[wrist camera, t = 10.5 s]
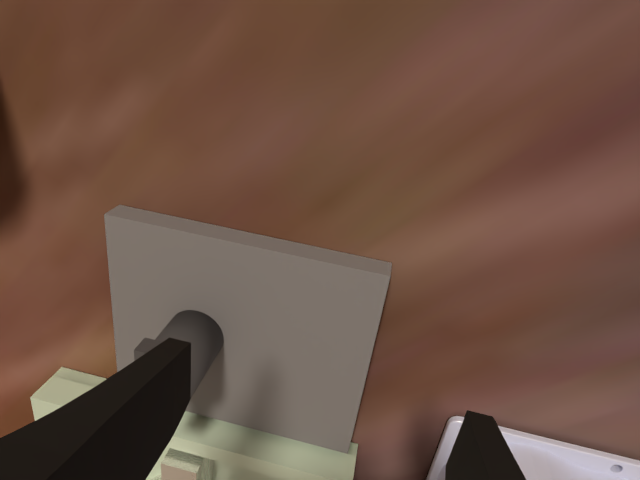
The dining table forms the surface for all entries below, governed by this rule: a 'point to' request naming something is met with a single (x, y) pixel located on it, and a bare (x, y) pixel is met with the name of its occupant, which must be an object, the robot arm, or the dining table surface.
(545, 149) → the dining table surface
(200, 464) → the ring
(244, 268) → the base
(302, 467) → the tray
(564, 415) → the dining table surface
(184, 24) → the dining table surface
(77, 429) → the robot arm
